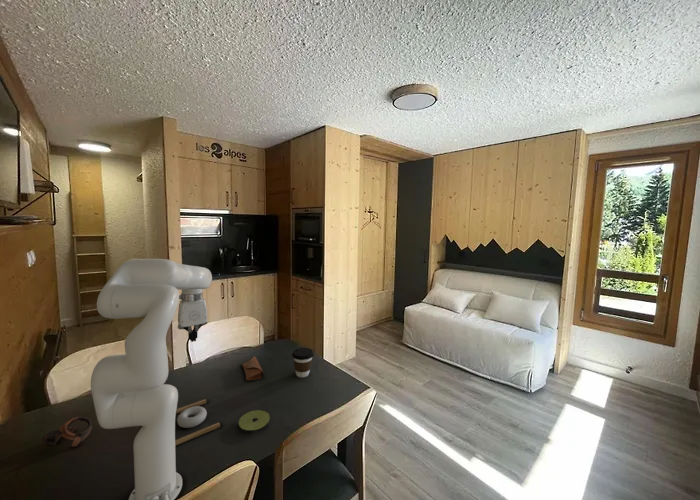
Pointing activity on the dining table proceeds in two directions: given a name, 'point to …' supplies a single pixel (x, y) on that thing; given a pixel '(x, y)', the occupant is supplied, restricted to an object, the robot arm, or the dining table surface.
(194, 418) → the donut
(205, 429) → the frame
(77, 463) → the dining table surface
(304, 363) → the coffee cup
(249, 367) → the sunglasses case
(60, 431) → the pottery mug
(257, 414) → the mat
